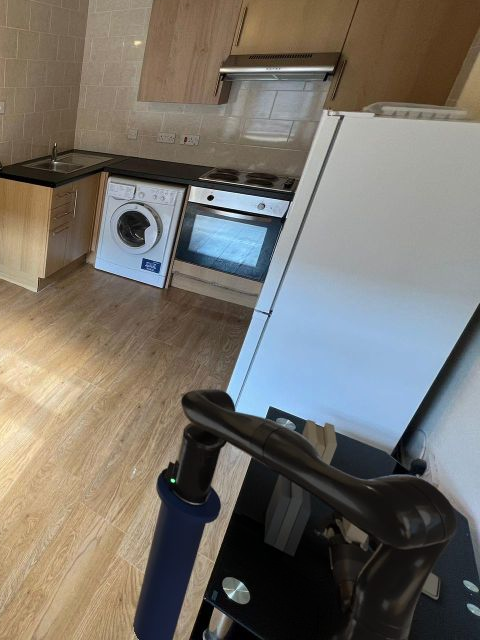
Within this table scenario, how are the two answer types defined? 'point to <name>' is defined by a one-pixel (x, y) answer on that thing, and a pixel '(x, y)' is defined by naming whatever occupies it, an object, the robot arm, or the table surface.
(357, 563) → the robot arm
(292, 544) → the grey books
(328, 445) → the beige books
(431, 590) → the smartphone
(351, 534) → the beige thin block
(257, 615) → the table surface
